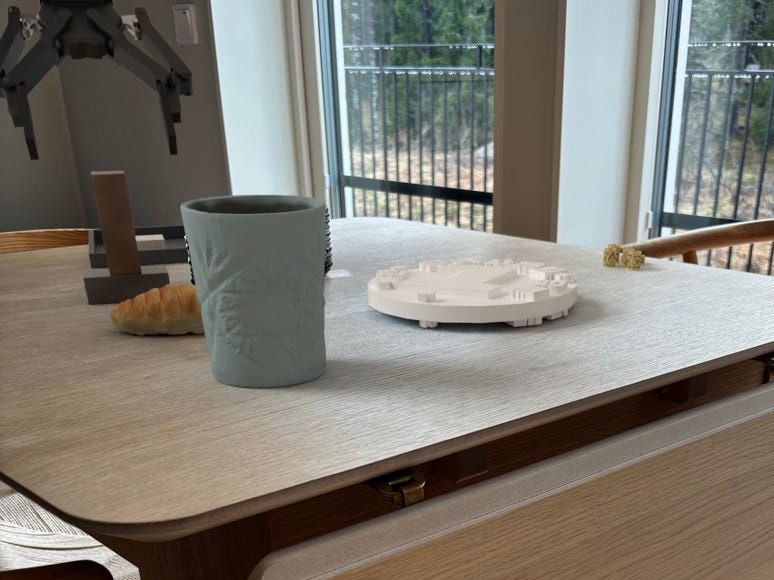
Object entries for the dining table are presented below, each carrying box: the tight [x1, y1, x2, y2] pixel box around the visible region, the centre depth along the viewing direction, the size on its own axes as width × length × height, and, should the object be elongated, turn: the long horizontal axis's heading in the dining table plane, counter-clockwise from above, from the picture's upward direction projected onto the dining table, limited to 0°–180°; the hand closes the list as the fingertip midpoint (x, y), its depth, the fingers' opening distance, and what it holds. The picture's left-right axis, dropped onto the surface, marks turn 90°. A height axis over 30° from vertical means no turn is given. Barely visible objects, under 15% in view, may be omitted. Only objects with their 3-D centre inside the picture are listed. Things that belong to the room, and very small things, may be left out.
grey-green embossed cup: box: [179, 194, 327, 389], centre depth 72 cm, size 10×10×12 cm
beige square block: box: [135, 235, 166, 250], centre depth 118 cm, size 4×4×2 cm
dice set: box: [602, 243, 646, 272], centre depth 112 cm, size 5×5×2 cm
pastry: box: [109, 283, 205, 336], centre depth 87 cm, size 9×7×4 cm
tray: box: [88, 224, 189, 269], centre depth 118 cm, size 19×13×2 cm
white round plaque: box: [367, 257, 578, 329], centre depth 93 cm, size 20×20×3 cm
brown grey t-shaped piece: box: [83, 170, 171, 305], centre depth 96 cm, size 8×4×12 cm, turn 109°
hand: (104, 147), depth 99 cm, fingers open, 13 cm apart
